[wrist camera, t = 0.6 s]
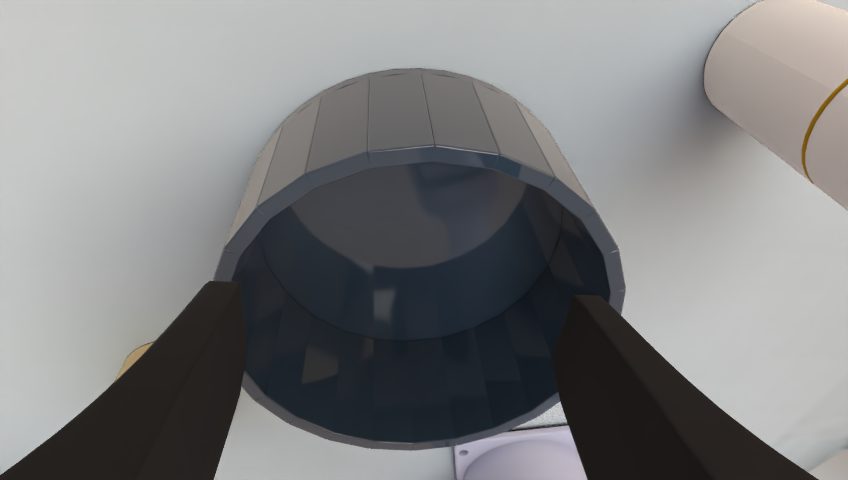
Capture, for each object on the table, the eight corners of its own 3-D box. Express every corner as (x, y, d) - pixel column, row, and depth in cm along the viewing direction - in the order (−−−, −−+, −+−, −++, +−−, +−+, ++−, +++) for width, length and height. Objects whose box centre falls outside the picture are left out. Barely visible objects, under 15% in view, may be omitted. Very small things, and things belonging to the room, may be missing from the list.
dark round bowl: (559, 322, 26) (600, 431, 21) (288, 351, 26) (268, 467, 21) (584, 49, 19) (658, 121, 14) (203, 87, 19) (141, 174, 14)
